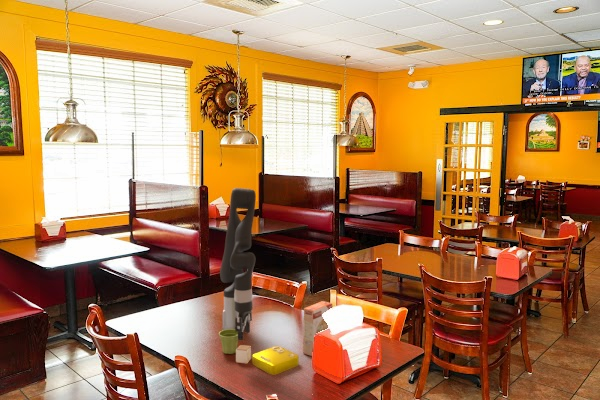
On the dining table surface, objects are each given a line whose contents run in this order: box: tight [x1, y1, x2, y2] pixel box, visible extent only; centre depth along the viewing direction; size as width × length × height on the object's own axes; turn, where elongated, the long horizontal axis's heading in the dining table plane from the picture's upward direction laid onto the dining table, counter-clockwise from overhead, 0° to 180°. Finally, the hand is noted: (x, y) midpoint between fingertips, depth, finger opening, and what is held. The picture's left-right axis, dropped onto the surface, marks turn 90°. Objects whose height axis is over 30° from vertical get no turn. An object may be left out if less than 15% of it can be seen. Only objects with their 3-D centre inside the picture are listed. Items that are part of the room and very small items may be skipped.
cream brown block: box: [235, 344, 252, 364], centre depth 207 cm, size 5×5×6 cm
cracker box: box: [302, 300, 333, 357], centre depth 216 cm, size 14×6×21 cm, turn 140°
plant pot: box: [218, 329, 239, 355], centre depth 216 cm, size 9×9×9 cm
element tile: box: [251, 345, 300, 376], centre depth 204 cm, size 15×15×5 cm
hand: (244, 336), depth 206 cm, fingers open, 8 cm apart
